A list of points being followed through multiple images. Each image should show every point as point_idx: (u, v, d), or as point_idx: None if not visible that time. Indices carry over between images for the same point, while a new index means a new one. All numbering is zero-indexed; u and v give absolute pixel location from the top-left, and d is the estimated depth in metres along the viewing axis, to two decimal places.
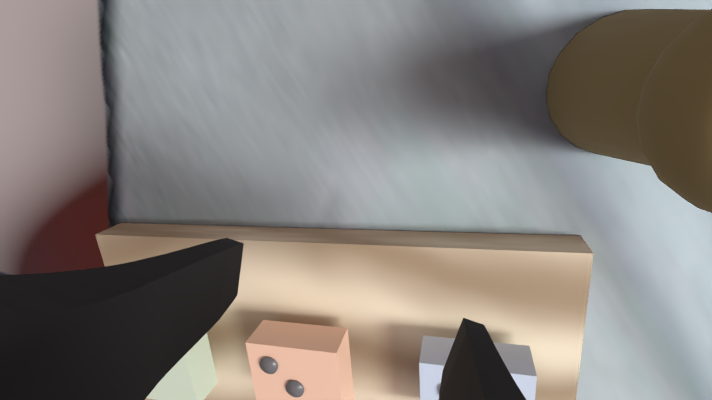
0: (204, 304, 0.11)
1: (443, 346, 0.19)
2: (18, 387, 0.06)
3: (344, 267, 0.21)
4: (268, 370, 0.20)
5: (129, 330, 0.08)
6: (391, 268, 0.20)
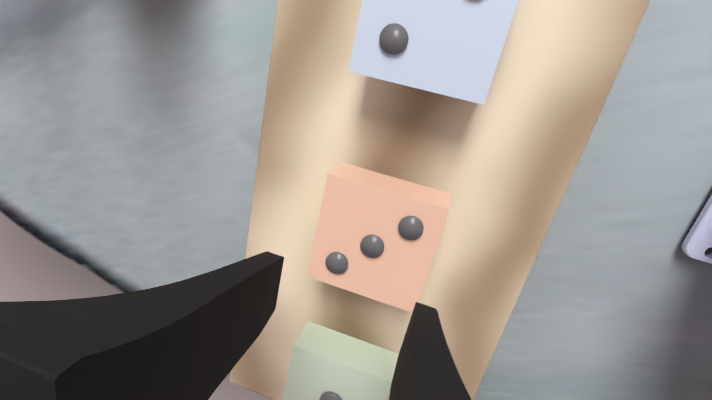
0: (248, 320, 0.11)
1: None
2: None
3: (286, 143, 0.19)
4: (342, 266, 0.17)
5: (186, 353, 0.08)
6: (292, 91, 0.18)
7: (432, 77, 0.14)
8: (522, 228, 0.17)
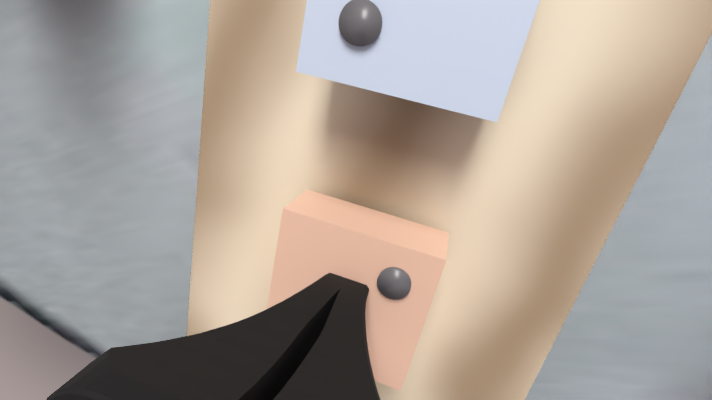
0: None
1: None
2: None
3: (232, 167, 0.14)
4: None
5: (277, 389, 0.08)
6: (236, 98, 0.14)
7: (419, 81, 0.09)
8: (545, 284, 0.13)
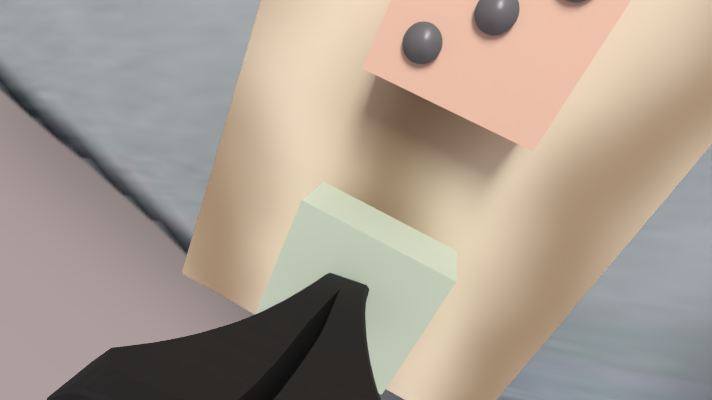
0: None
1: None
2: None
3: None
4: (431, 49, 0.10)
5: (277, 390, 0.08)
6: None
7: None
8: None
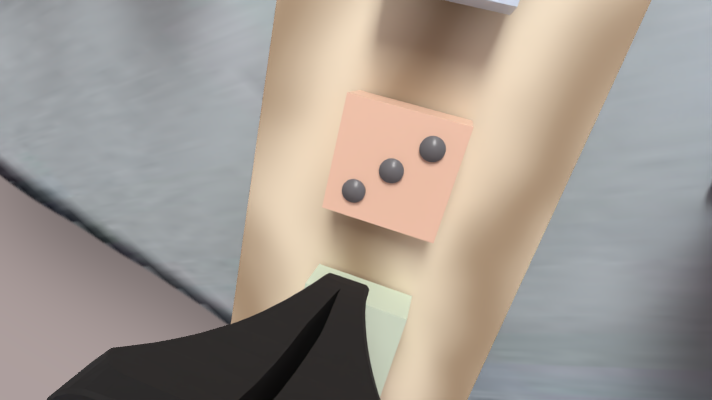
0: None
1: None
2: None
3: (294, 75, 0.18)
4: (359, 193, 0.16)
5: (277, 389, 0.08)
6: (302, 15, 0.17)
7: None
8: (547, 163, 0.16)
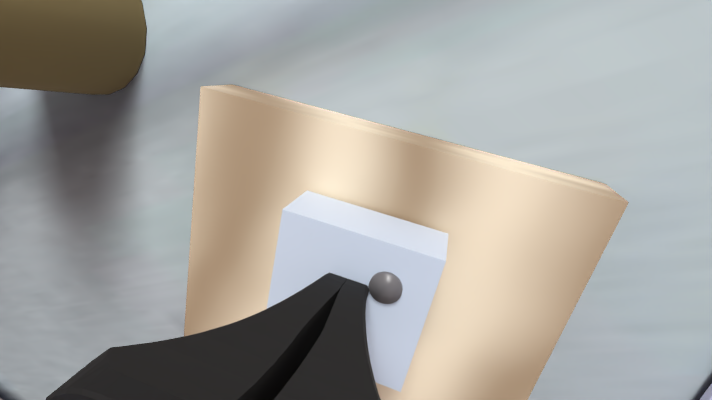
0: None
1: None
2: None
3: None
4: None
5: (277, 389, 0.08)
6: (212, 310, 0.17)
7: None
8: None
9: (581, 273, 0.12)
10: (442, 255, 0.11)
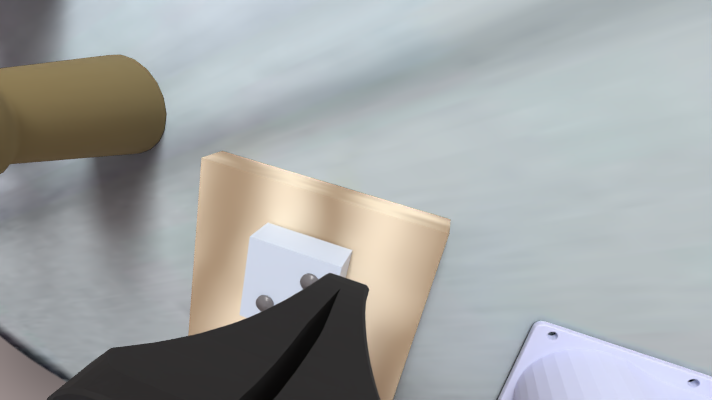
0: None
1: None
2: None
3: None
4: None
5: (278, 390, 0.08)
6: (209, 299, 0.25)
7: None
8: None
9: (429, 274, 0.20)
10: (341, 264, 0.19)
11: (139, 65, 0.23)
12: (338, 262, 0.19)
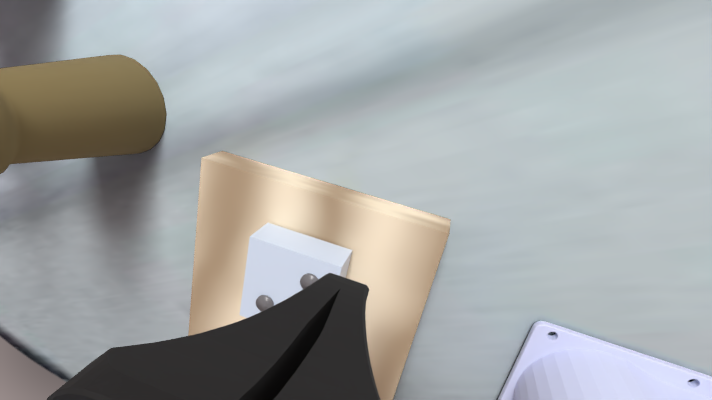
0: None
1: None
2: None
3: None
4: None
5: (278, 390, 0.08)
6: (209, 299, 0.25)
7: None
8: None
9: (429, 274, 0.20)
10: (341, 264, 0.19)
11: (139, 65, 0.23)
12: (338, 262, 0.19)
